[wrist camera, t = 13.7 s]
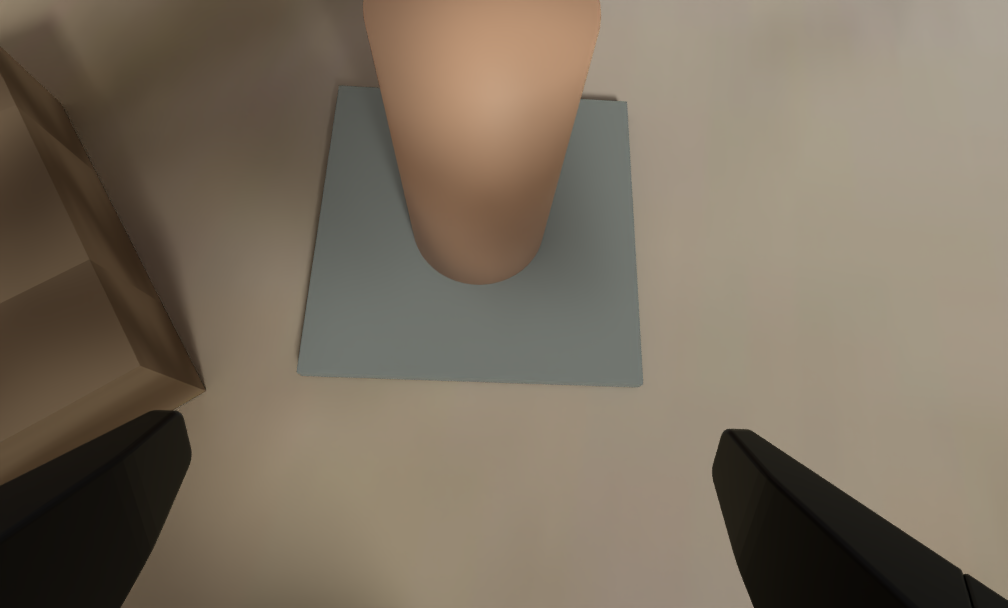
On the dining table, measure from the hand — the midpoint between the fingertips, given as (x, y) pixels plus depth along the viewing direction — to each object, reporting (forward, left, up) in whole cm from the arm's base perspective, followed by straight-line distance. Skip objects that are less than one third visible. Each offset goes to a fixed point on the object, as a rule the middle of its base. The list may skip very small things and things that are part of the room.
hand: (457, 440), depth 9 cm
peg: (+3, -8, -9) cm, 13 cm away
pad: (+3, -8, -10) cm, 13 cm away
